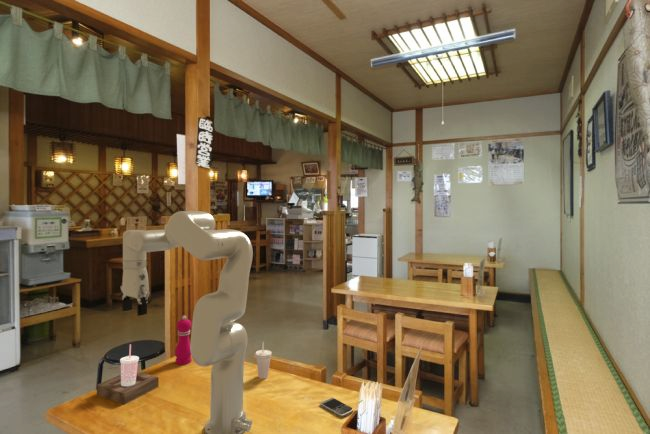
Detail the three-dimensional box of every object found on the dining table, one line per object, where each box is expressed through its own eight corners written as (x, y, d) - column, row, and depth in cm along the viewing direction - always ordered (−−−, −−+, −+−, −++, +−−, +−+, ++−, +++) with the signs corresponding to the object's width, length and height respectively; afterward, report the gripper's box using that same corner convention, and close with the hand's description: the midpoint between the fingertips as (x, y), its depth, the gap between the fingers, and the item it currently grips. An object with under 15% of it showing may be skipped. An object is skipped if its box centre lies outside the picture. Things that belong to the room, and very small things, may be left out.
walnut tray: (158, 388, 140) (158, 377, 140) (124, 406, 127) (124, 393, 127) (131, 380, 146) (131, 369, 146) (96, 396, 133) (96, 384, 133)
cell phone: (341, 420, 122) (342, 415, 122) (318, 406, 130) (318, 402, 130) (354, 413, 126) (354, 409, 126) (331, 400, 134) (331, 396, 134)
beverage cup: (141, 382, 139) (143, 343, 139) (127, 388, 133) (130, 347, 133) (128, 379, 141) (130, 341, 141) (114, 385, 135) (116, 345, 135)
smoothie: (251, 379, 148) (252, 343, 148) (259, 372, 154) (260, 338, 154) (266, 381, 146) (267, 345, 146) (273, 374, 152) (274, 340, 152)
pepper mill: (175, 359, 165) (175, 313, 165) (192, 357, 167) (193, 312, 167) (173, 366, 158) (174, 318, 158) (192, 364, 161) (192, 317, 160)
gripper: (158, 265, 134) (158, 314, 134) (132, 261, 144) (132, 306, 144) (137, 268, 128) (137, 319, 128) (111, 263, 138) (111, 310, 138)
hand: (134, 312), depth 136 cm, fingers open, 9 cm apart
